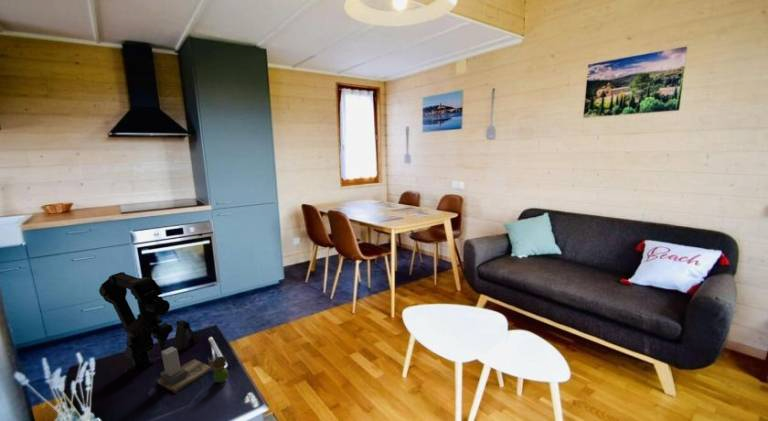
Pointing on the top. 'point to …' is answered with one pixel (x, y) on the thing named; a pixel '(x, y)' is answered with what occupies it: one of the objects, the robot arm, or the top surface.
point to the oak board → (188, 375)
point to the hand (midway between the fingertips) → (155, 346)
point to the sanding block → (172, 366)
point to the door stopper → (180, 336)
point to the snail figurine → (219, 369)
